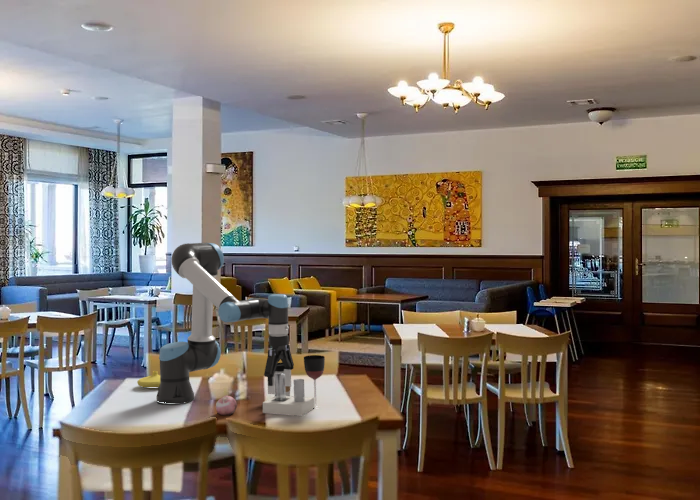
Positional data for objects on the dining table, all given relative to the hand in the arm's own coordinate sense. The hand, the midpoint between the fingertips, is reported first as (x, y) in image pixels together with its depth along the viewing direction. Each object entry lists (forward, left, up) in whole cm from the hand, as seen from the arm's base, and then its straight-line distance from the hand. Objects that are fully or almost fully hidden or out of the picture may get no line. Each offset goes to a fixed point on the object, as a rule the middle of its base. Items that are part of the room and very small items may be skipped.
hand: (279, 390), depth 270 cm
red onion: (-17, -11, -8) cm, 22 cm away
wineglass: (+11, +7, -8) cm, 16 cm away
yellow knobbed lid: (-74, +22, -8) cm, 78 cm away
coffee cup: (-7, +15, -8) cm, 18 cm away
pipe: (0, 0, -8) cm, 8 cm away
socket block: (+4, 0, -8) cm, 9 cm away
